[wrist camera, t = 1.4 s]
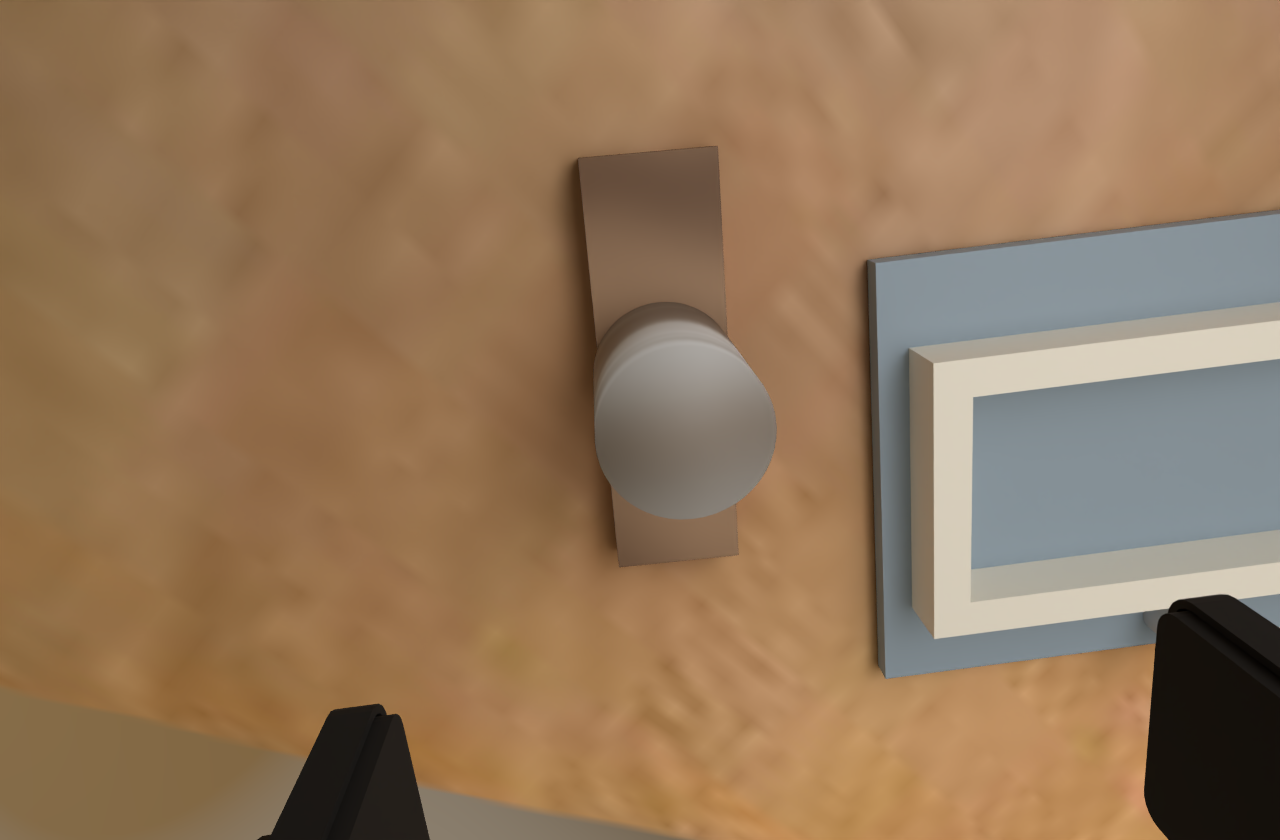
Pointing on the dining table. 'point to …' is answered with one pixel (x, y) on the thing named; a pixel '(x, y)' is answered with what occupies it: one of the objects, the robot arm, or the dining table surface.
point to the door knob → (668, 358)
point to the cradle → (1073, 439)
